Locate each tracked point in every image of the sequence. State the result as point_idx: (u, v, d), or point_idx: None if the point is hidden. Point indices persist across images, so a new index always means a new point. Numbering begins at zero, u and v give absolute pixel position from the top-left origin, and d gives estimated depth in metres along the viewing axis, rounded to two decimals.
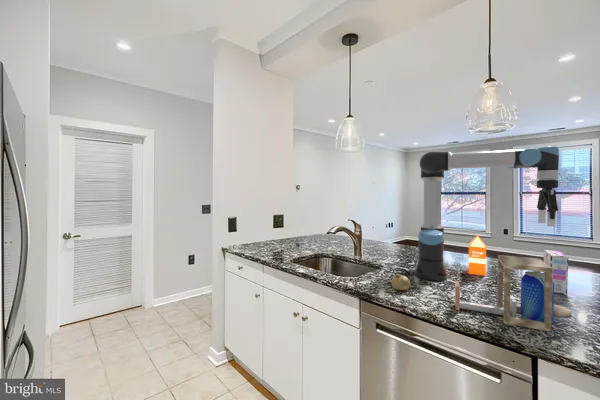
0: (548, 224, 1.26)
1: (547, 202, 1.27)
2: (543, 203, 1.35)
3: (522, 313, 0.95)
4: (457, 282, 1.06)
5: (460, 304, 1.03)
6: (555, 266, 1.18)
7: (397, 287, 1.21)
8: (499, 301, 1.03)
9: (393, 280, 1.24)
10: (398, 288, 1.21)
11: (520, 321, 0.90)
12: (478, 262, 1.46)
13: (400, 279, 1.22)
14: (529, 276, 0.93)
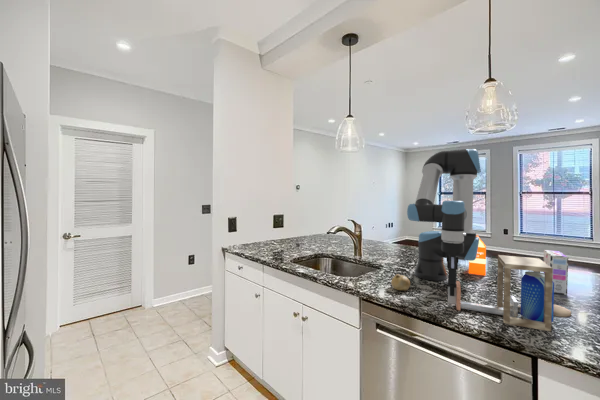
0: (448, 301, 1.05)
1: None
2: None
3: (522, 313, 0.95)
4: (458, 282, 1.05)
5: (461, 304, 1.03)
6: (555, 266, 1.18)
7: (397, 287, 1.21)
8: (499, 301, 1.03)
9: (393, 280, 1.24)
10: (398, 288, 1.21)
11: (520, 321, 0.90)
12: (478, 262, 1.46)
13: (400, 279, 1.22)
14: (529, 276, 0.93)
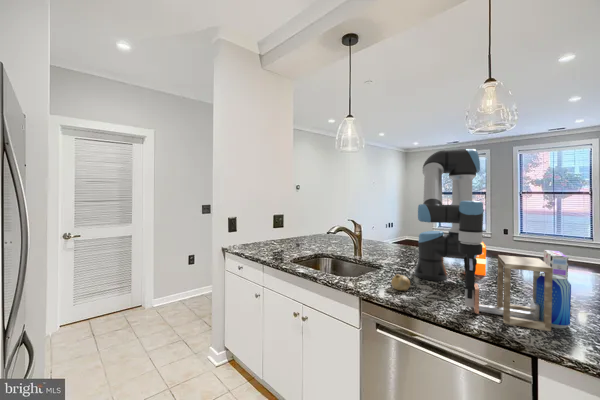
0: (466, 304, 1.03)
1: (466, 276, 1.01)
2: None
3: None
4: (476, 284, 1.03)
5: (479, 307, 1.00)
6: (555, 266, 1.18)
7: (397, 287, 1.21)
8: (499, 301, 1.03)
9: (393, 280, 1.24)
10: (398, 288, 1.21)
11: (520, 321, 0.90)
12: (478, 262, 1.46)
13: (400, 279, 1.22)
14: None
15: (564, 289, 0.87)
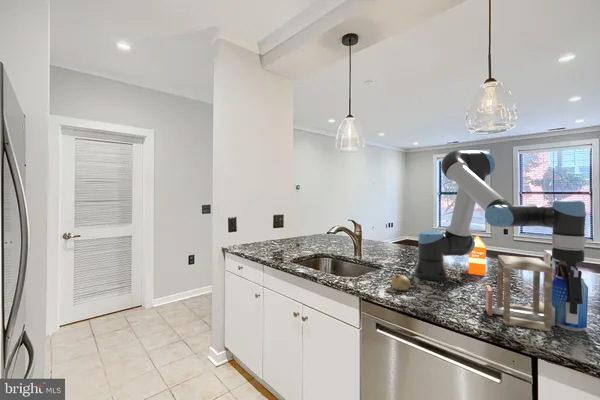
0: (567, 320, 0.87)
1: (567, 286, 0.87)
2: None
3: None
4: (488, 286, 1.01)
5: (492, 309, 0.99)
6: None
7: (397, 287, 1.21)
8: (499, 301, 1.03)
9: (393, 280, 1.24)
10: (398, 288, 1.21)
11: (520, 321, 0.90)
12: (478, 262, 1.46)
13: (400, 279, 1.22)
14: (561, 279, 0.89)
15: None
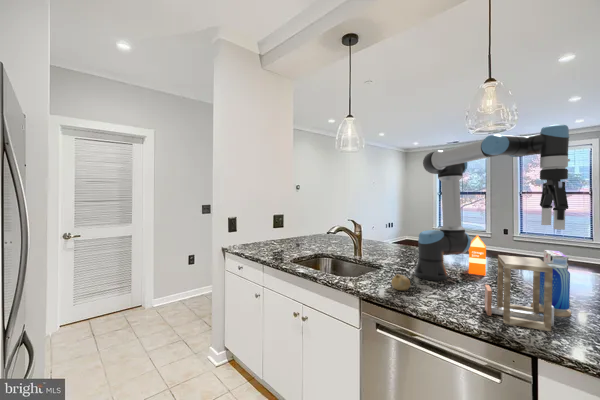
0: (555, 227, 0.95)
1: (553, 198, 0.97)
2: (548, 199, 1.05)
3: (540, 301, 1.03)
4: (488, 286, 1.01)
5: (491, 309, 0.99)
6: None
7: (397, 287, 1.21)
8: (499, 301, 1.03)
9: (393, 280, 1.24)
10: (398, 288, 1.21)
11: (520, 321, 0.90)
12: (478, 262, 1.46)
13: (400, 279, 1.22)
14: None
15: (564, 276, 0.97)
